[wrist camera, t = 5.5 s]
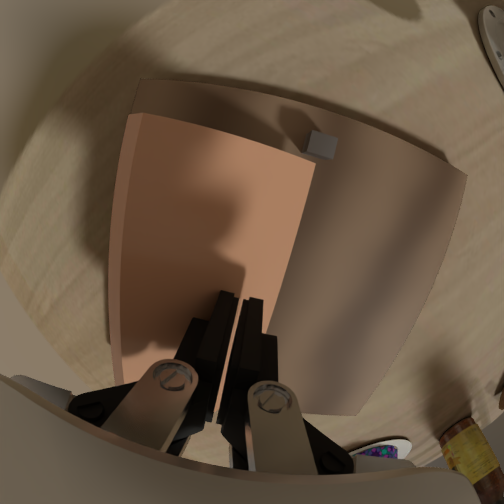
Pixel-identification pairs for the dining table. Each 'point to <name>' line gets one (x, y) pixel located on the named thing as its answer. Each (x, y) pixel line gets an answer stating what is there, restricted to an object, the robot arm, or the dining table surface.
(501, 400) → the clay platform pipe
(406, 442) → the patterned brimmed hat
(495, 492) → the sauce bottle
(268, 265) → the tile
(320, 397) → the board
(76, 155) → the dining table surface
